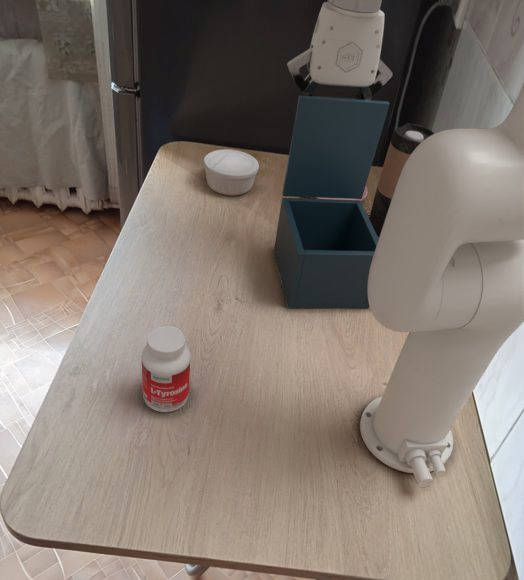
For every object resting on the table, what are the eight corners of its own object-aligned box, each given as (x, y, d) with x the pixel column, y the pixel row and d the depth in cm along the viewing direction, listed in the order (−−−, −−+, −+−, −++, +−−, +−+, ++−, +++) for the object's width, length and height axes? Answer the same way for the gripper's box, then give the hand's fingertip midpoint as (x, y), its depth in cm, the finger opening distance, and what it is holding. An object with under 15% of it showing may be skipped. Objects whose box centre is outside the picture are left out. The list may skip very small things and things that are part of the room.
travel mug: (403, 243, 111) (437, 146, 97) (364, 235, 111) (393, 137, 97) (404, 223, 116) (436, 128, 102) (367, 215, 117) (394, 119, 103)
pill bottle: (146, 417, 74) (144, 359, 67) (139, 382, 78) (136, 324, 71) (193, 409, 76) (196, 352, 68) (184, 376, 80) (185, 318, 72)
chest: (368, 308, 96) (386, 255, 88) (287, 308, 93) (298, 253, 85) (346, 252, 107) (360, 200, 99) (273, 250, 104) (282, 197, 96)
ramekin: (200, 171, 122) (201, 147, 118) (251, 172, 124) (253, 149, 120) (205, 198, 114) (207, 174, 110) (260, 199, 116) (263, 175, 113)
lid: (389, 103, 86) (381, 89, 89) (300, 97, 83) (294, 82, 87) (361, 199, 98) (355, 183, 102) (282, 196, 96) (278, 180, 99)
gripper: (300, -1, 76) (281, 127, 88) (421, 11, 79) (387, 133, 91) (290, -17, 81) (274, 107, 93) (405, -5, 84) (374, 113, 96)
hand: (330, 119), depth 92 cm, fingers open, 7 cm apart
